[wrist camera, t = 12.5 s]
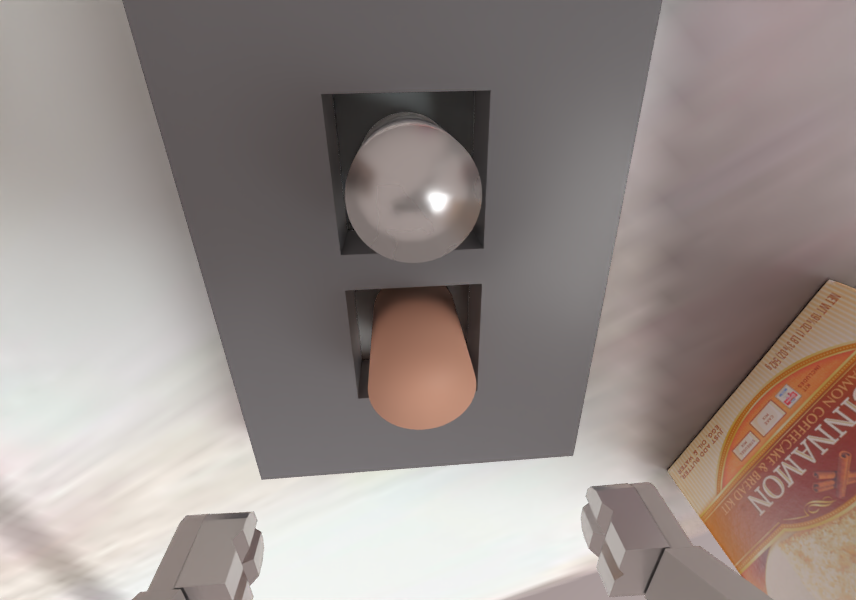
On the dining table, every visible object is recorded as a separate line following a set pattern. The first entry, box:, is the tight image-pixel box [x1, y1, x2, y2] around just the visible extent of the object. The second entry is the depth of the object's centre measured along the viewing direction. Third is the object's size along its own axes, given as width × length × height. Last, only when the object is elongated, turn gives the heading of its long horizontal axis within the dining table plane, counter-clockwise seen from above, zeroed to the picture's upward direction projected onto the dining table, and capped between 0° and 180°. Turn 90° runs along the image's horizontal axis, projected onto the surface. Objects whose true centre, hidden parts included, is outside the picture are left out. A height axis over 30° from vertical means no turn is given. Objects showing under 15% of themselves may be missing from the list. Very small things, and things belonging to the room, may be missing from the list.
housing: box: [122, 0, 662, 480], centre depth 18 cm, size 22×16×3 cm
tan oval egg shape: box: [368, 286, 476, 430], centre depth 18 cm, size 4×4×6 cm
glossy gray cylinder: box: [345, 112, 482, 263], centre depth 15 cm, size 4×4×6 cm
